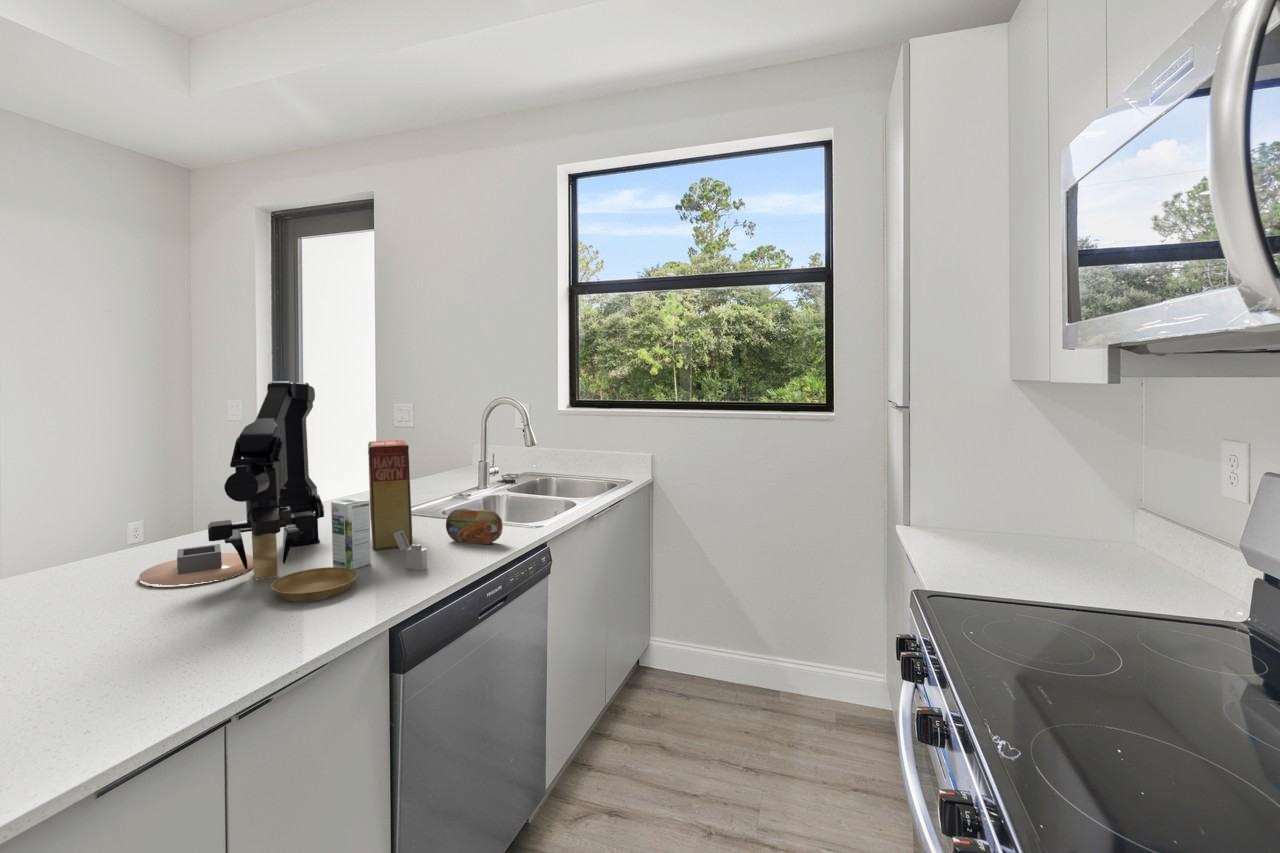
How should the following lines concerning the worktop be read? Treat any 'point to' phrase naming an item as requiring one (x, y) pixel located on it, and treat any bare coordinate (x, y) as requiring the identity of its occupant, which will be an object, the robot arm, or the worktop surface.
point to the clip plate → (197, 567)
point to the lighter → (412, 552)
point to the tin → (474, 526)
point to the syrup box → (351, 533)
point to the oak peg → (264, 556)
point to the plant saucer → (314, 583)
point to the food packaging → (389, 492)
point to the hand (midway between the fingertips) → (265, 566)
